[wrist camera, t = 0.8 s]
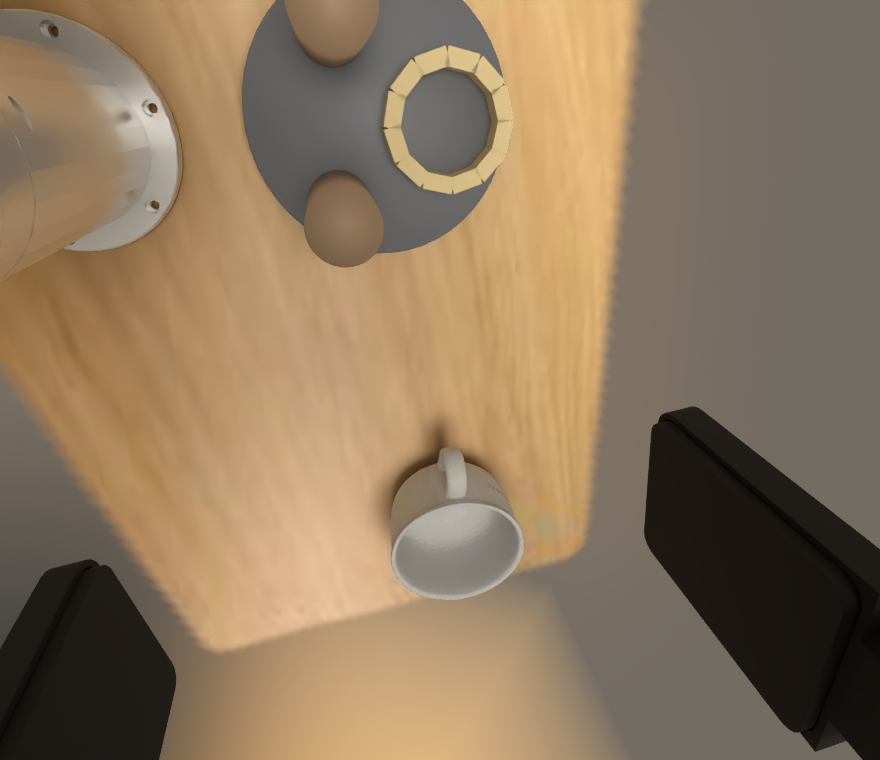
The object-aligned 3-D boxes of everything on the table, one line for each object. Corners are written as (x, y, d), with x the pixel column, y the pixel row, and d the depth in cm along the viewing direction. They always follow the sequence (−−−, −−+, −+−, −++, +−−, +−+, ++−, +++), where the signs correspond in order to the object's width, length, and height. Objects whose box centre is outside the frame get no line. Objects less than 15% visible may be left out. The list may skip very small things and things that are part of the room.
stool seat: (193, 132, 32) (145, 142, 23) (355, -111, 28) (370, -208, 20) (394, 290, 39) (414, 342, 30) (544, 110, 35) (617, 111, 27)
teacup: (484, 535, 52) (509, 601, 45) (376, 538, 50) (384, 608, 43) (514, 416, 46) (548, 470, 40) (393, 411, 44) (407, 468, 37)
